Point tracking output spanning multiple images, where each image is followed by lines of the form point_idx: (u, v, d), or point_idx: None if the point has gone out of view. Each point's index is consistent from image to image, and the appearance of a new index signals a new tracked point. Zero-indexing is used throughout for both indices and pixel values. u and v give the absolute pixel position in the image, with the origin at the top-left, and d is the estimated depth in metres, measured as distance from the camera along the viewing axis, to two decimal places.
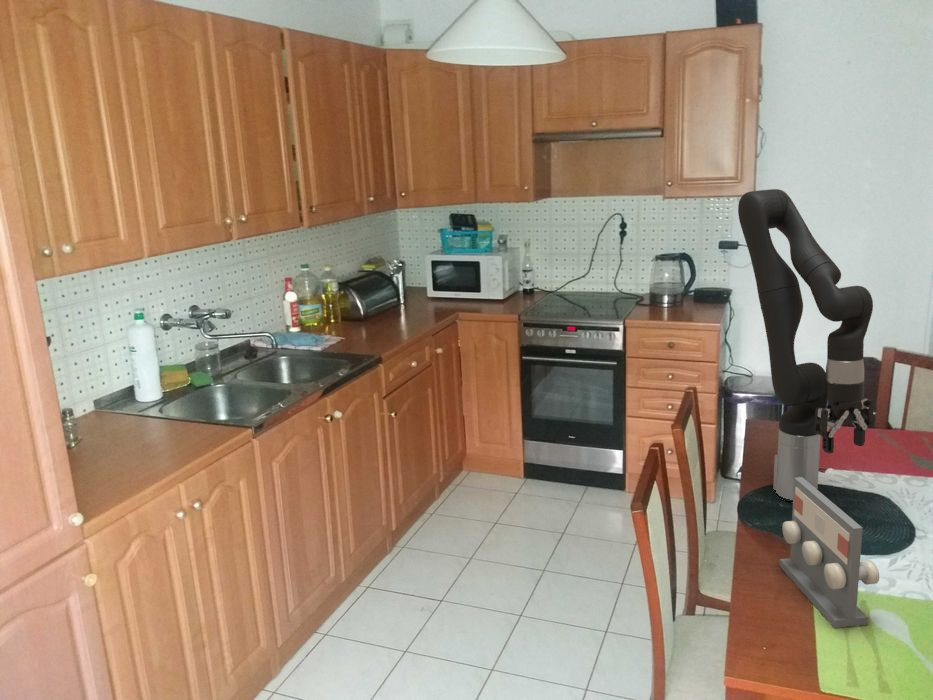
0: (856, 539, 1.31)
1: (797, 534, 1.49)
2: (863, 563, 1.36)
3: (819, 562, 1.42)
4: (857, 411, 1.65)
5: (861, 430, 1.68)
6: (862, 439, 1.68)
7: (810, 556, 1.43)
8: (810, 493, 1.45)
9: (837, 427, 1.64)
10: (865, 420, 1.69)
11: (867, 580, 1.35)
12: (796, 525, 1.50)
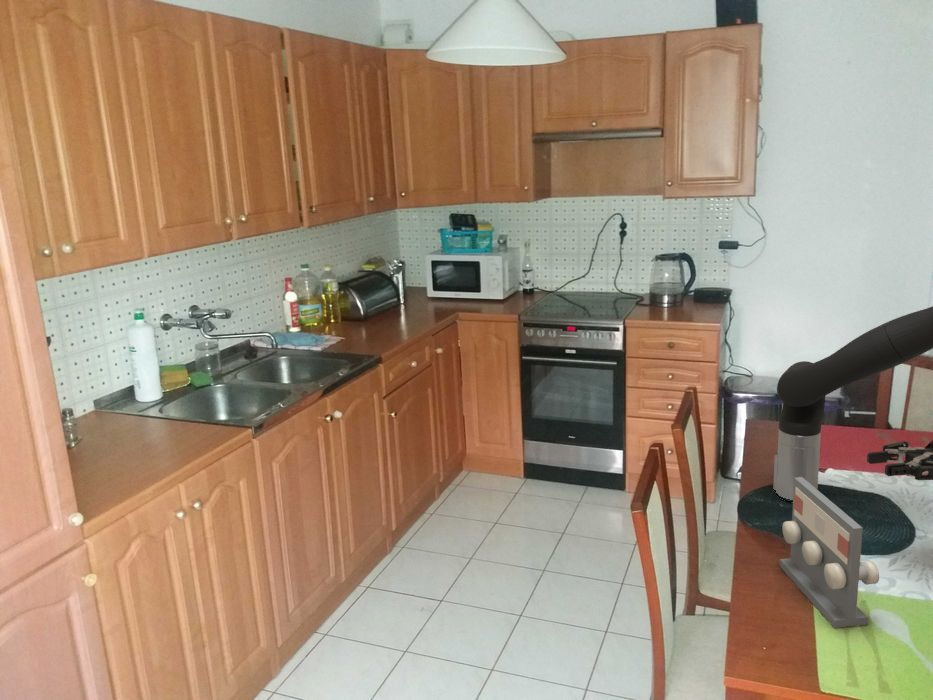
0: (856, 539, 1.31)
1: (797, 534, 1.49)
2: (863, 563, 1.36)
3: (819, 562, 1.42)
4: None
5: None
6: None
7: (810, 556, 1.43)
8: (810, 493, 1.45)
9: None
10: None
11: (867, 580, 1.35)
12: (796, 525, 1.50)
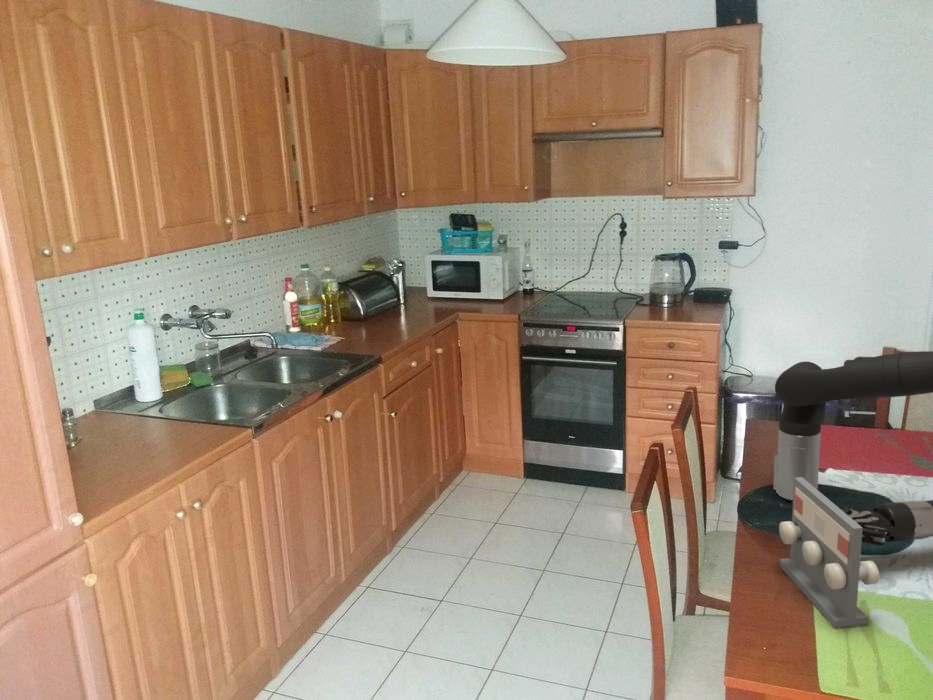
0: (856, 539, 1.31)
1: (794, 534, 1.49)
2: (863, 563, 1.36)
3: (819, 562, 1.42)
4: None
5: None
6: None
7: (810, 556, 1.43)
8: (810, 493, 1.45)
9: None
10: None
11: (867, 580, 1.35)
12: (793, 525, 1.50)
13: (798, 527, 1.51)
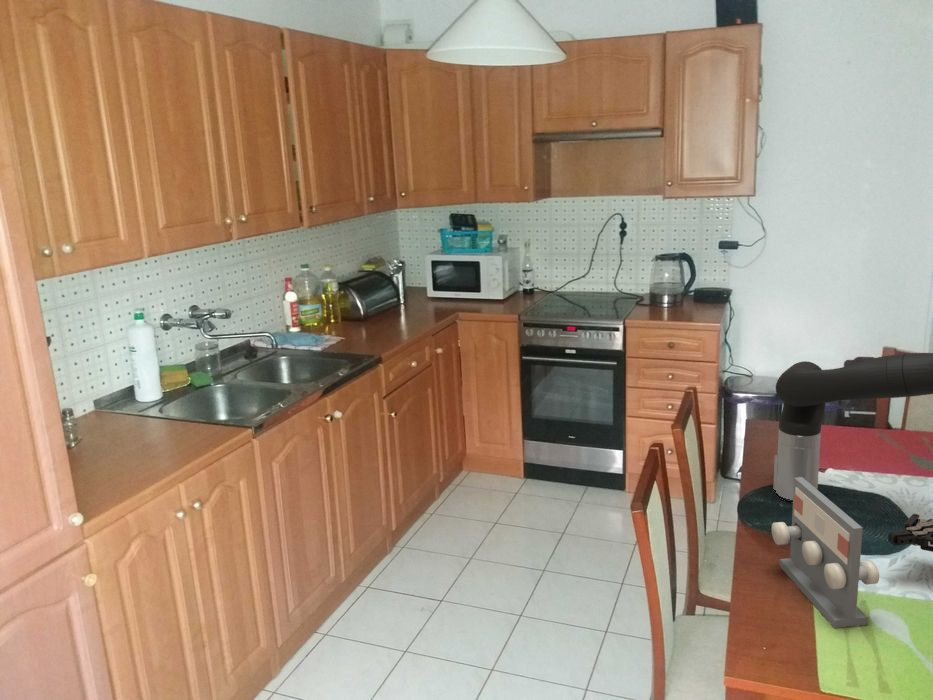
0: (856, 539, 1.31)
1: (786, 535, 1.49)
2: (863, 563, 1.36)
3: (819, 562, 1.42)
4: None
5: None
6: None
7: (810, 556, 1.43)
8: (810, 493, 1.45)
9: None
10: None
11: (867, 580, 1.35)
12: (785, 526, 1.50)
13: (790, 528, 1.51)
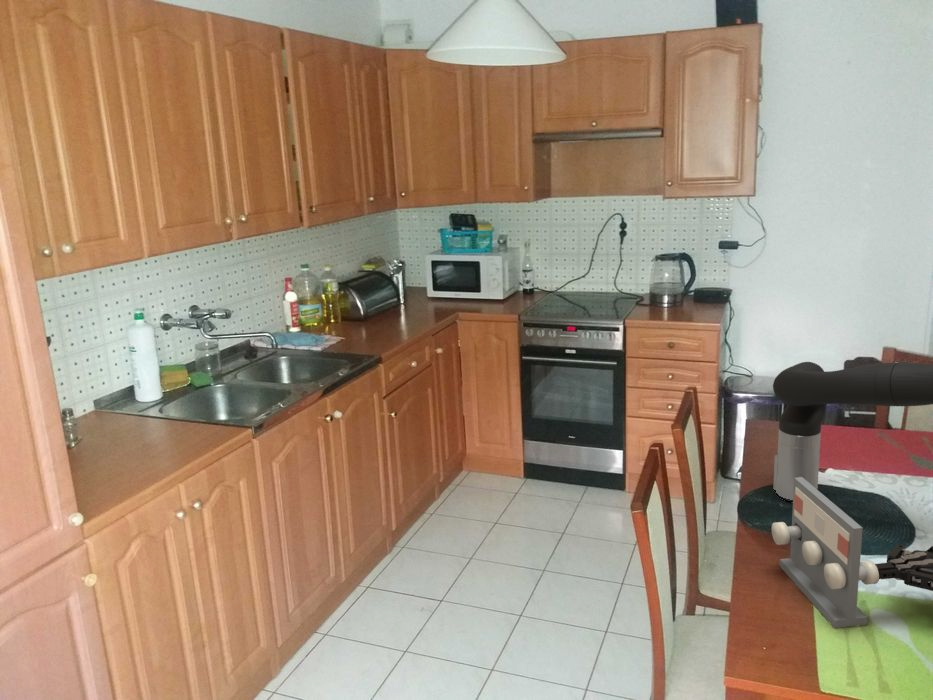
0: (856, 539, 1.31)
1: (786, 535, 1.49)
2: (863, 563, 1.36)
3: (819, 562, 1.42)
4: None
5: None
6: None
7: (810, 556, 1.43)
8: (810, 493, 1.45)
9: None
10: None
11: (867, 580, 1.35)
12: (785, 526, 1.50)
13: (790, 528, 1.51)
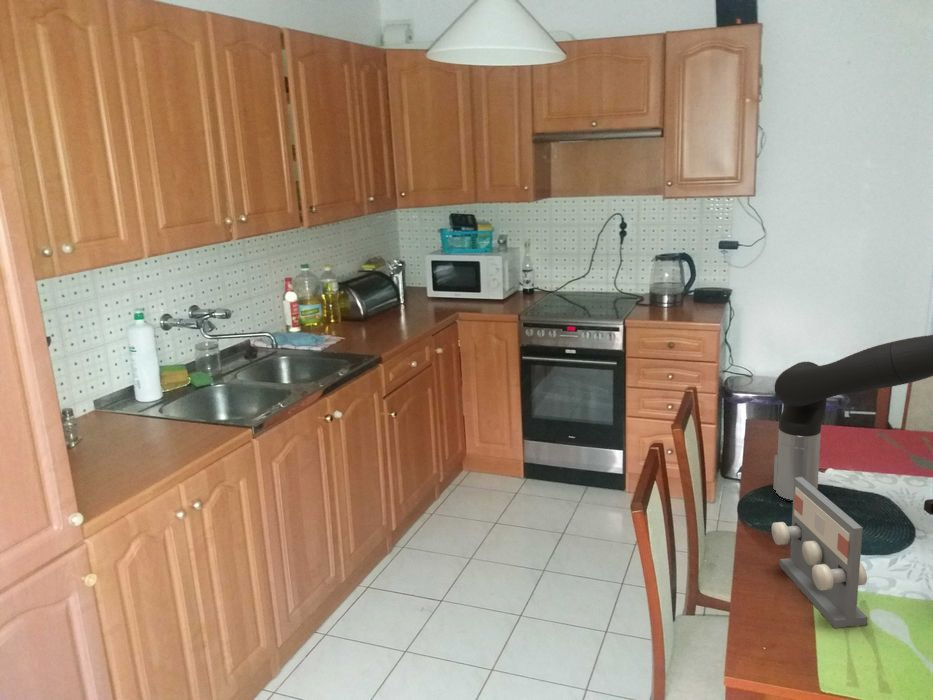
0: (856, 539, 1.31)
1: (786, 535, 1.49)
2: None
3: (819, 562, 1.42)
4: None
5: None
6: None
7: (810, 556, 1.43)
8: (810, 493, 1.45)
9: None
10: None
11: None
12: (785, 526, 1.50)
13: (790, 528, 1.51)
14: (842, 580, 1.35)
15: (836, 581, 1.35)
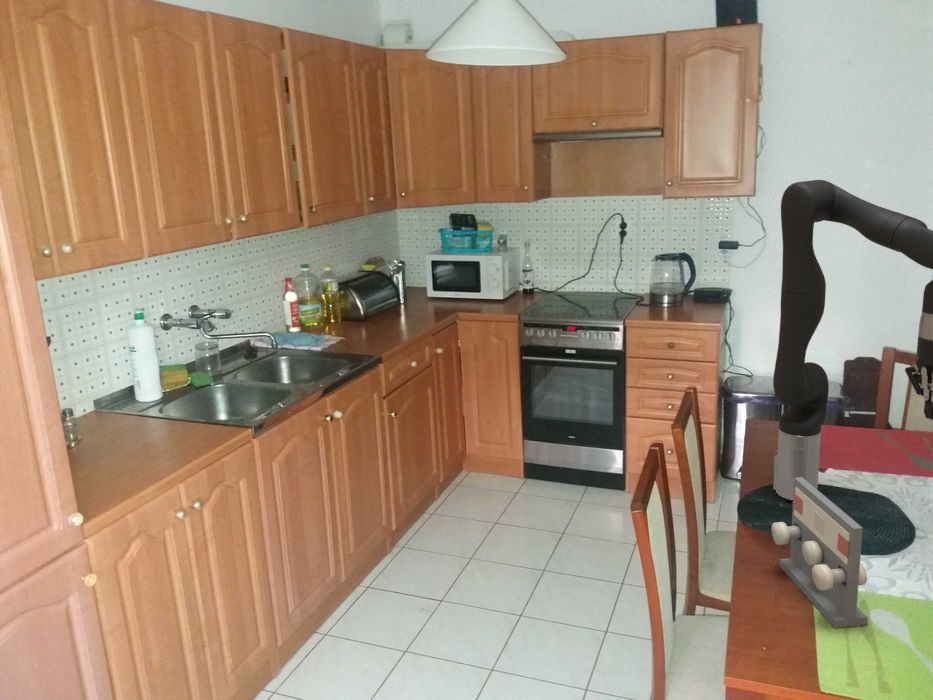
0: (856, 539, 1.31)
1: (786, 535, 1.49)
2: None
3: (819, 562, 1.42)
4: None
5: None
6: None
7: (810, 556, 1.43)
8: (810, 493, 1.45)
9: None
10: None
11: None
12: (785, 526, 1.50)
13: (790, 528, 1.51)
14: (842, 580, 1.35)
15: (836, 581, 1.35)
